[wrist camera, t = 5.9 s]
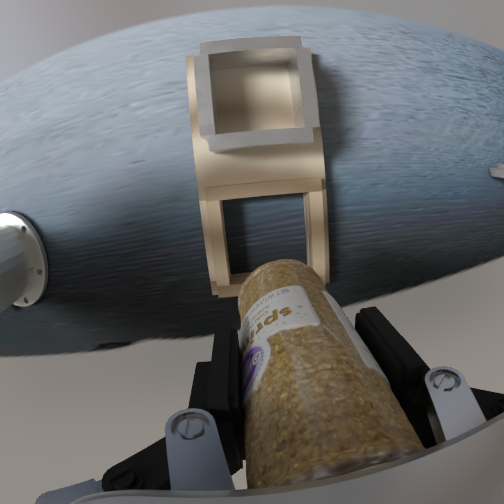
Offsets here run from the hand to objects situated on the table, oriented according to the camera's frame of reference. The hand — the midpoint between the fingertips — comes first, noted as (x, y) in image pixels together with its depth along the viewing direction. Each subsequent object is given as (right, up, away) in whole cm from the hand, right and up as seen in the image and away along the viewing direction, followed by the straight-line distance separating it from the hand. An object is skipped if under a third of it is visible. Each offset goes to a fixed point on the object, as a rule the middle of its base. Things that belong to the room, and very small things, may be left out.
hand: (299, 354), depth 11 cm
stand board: (-1, +12, +18) cm, 22 cm away
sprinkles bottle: (0, +1, +5) cm, 5 cm away
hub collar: (-2, +18, +15) cm, 23 cm away
